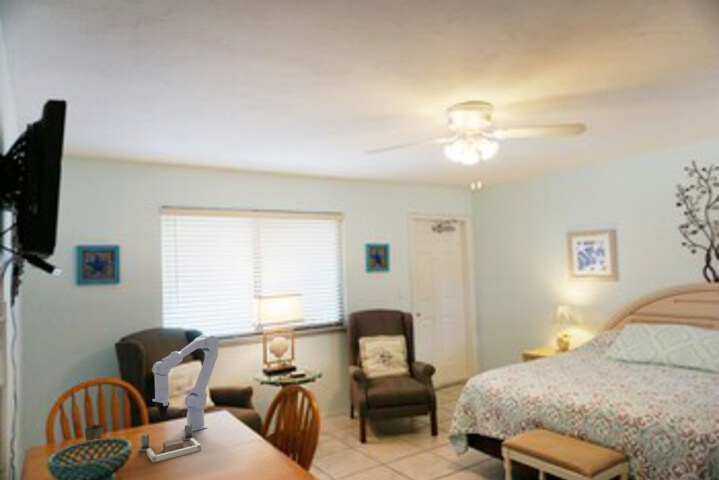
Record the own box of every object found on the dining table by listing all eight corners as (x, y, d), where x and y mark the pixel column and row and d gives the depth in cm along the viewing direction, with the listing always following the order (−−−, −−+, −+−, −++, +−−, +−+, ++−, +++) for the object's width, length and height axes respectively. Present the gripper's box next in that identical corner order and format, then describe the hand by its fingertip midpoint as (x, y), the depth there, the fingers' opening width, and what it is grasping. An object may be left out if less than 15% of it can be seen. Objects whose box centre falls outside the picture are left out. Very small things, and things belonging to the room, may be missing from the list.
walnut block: (163, 450, 200) (162, 441, 200) (180, 446, 204) (180, 437, 204) (165, 456, 194) (165, 446, 194) (183, 451, 198) (183, 442, 198)
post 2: (181, 439, 213) (181, 425, 213) (192, 436, 216) (192, 422, 216) (184, 442, 209) (184, 428, 209) (196, 439, 212) (195, 425, 212)
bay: (146, 454, 197) (146, 449, 197) (193, 442, 208) (193, 437, 208) (152, 462, 187) (152, 457, 187) (201, 450, 198) (201, 445, 198)
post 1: (138, 449, 203) (137, 435, 203) (150, 446, 205) (150, 432, 206) (140, 452, 198) (139, 438, 199) (152, 449, 201) (152, 435, 202)
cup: (80, 447, 209) (80, 428, 209) (94, 441, 216) (94, 423, 216) (94, 448, 207) (93, 429, 207) (107, 442, 214) (107, 424, 214)
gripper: (148, 387, 219) (149, 417, 219) (155, 393, 208) (156, 424, 207) (165, 384, 223) (165, 413, 223) (172, 389, 212) (173, 420, 211)
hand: (162, 418), depth 215 cm, fingers closed
